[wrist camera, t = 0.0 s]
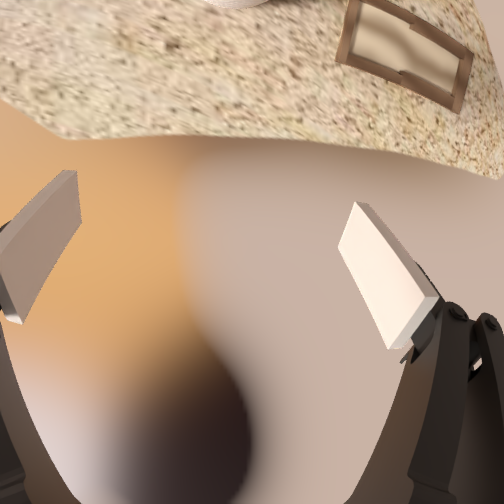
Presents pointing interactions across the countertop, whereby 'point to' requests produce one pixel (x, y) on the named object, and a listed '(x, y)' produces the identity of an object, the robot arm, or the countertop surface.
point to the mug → (236, 3)
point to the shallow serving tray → (404, 51)
